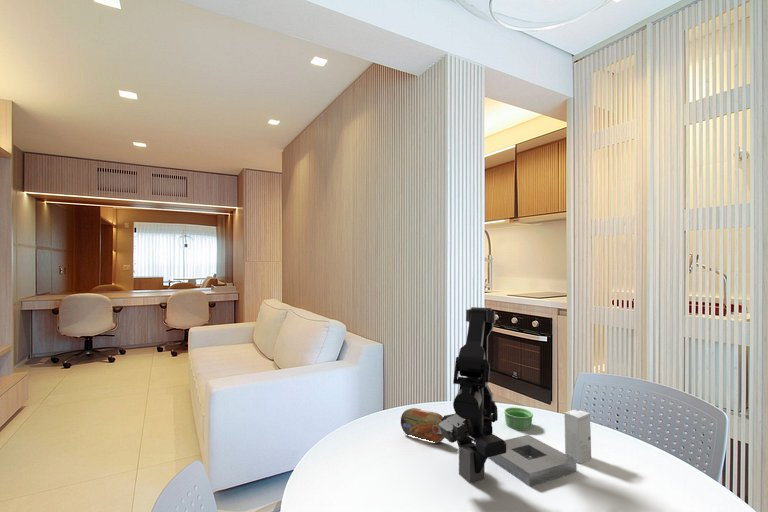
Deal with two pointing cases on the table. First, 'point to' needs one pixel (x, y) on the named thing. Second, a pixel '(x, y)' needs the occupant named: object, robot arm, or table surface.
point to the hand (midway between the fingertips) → (471, 468)
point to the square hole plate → (534, 460)
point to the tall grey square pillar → (468, 464)
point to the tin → (422, 424)
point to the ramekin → (518, 418)
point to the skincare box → (578, 435)
